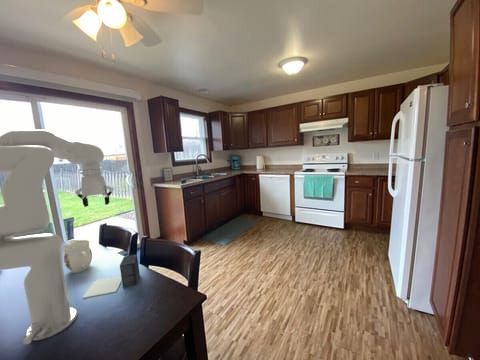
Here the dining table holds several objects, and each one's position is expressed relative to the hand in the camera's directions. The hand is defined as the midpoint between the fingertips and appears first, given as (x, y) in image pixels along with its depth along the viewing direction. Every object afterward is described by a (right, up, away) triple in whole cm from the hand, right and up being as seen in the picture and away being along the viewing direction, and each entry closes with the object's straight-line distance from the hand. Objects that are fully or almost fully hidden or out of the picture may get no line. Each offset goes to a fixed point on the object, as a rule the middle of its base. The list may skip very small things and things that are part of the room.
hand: (96, 205), depth 108 cm
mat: (+17, -33, -20) cm, 42 cm away
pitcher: (-5, -32, -5) cm, 33 cm away
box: (+27, -32, -17) cm, 46 cm away
